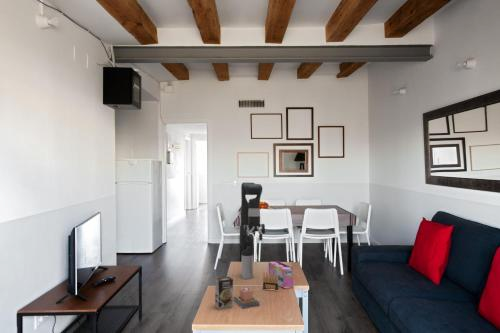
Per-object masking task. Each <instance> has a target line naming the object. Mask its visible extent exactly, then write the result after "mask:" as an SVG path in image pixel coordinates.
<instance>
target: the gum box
mask: <svg viewBox="0 0 500 333" xmlns="http://www.w3.org/2000/svg"><path fill="white" fill-rule="evenodd" d="M269 272H270V278H271V273H272V274H273V278H274V273H275V278H276V274H278V287H279V286H282V287H293V288H294V268H293V267H291V266H289V265H288V264H286V263H283V262H281V261H279V260H274V261H268V273H269Z"/></svg>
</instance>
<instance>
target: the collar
mask: <svg viewBox="0 0 500 333" xmlns="http://www.w3.org/2000/svg"><path fill="white" fill-rule="evenodd" d="M247 287H248V291H244V288H245V287H242V288H239V296H240V299H241V300H242V301H249V300H253V297H254V290H253V289H252V288H250V286H247Z"/></svg>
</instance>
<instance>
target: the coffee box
mask: <svg viewBox="0 0 500 333" xmlns="http://www.w3.org/2000/svg"><path fill="white" fill-rule="evenodd" d="M214 281H215V284H214V285H215V288H214V289H215V291H214V292H215V293H214V295H215V296H214V307H215V308H217V309H218V310H223V309H228V308H233V306H234V279H233V278H232V277H230V276H222V277H217V278H215V280H214Z"/></svg>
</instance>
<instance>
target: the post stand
mask: <svg viewBox="0 0 500 333" xmlns="http://www.w3.org/2000/svg"><path fill="white" fill-rule="evenodd" d="M248 287H249V286H245V287H243V288H244V291H248ZM233 302H235V304H237V305H238V306H239V307H240V308H241V309H242V310H244V309H250V308H253V307H258V306H260V301H259V300H257V298H255V297H254V296H253V300H249V301H242V300H241V299H240V295H238V296H233Z"/></svg>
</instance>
